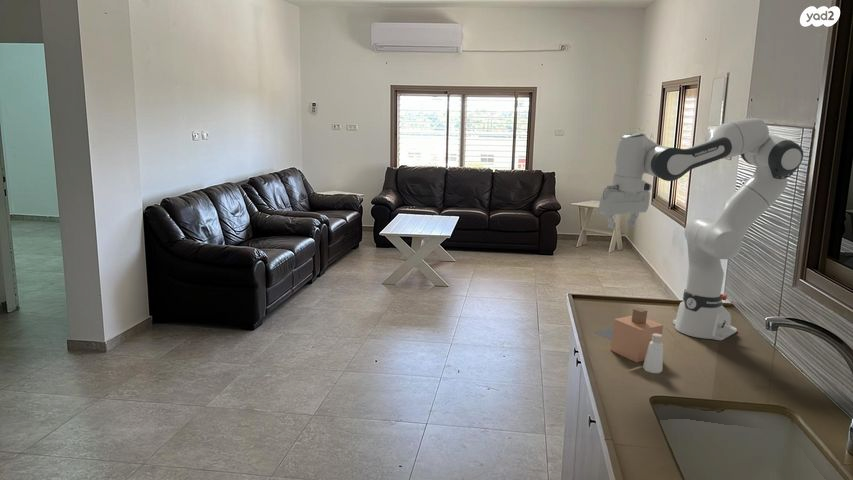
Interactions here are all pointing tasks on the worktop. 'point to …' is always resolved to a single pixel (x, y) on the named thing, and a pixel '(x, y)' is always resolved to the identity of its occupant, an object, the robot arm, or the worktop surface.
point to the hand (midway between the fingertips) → (621, 227)
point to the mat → (606, 333)
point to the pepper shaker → (654, 355)
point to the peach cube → (634, 335)
